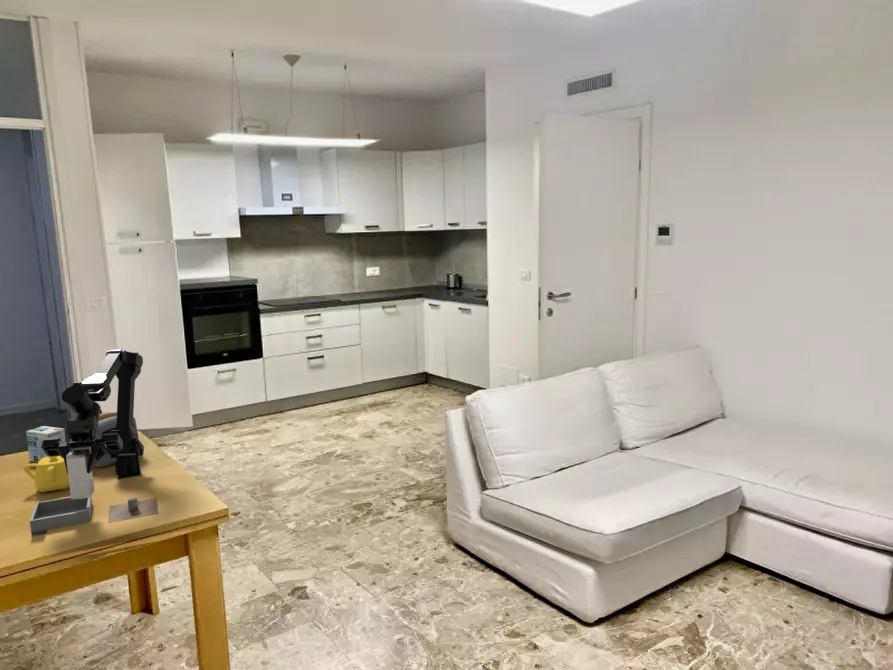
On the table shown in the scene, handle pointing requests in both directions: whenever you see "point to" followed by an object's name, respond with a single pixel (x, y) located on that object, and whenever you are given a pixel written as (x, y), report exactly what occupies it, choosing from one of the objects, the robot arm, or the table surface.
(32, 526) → the bin
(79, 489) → the strut
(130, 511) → the stud base
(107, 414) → the grey toaster
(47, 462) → the teapot
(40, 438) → the light bulb box
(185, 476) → the table surface
